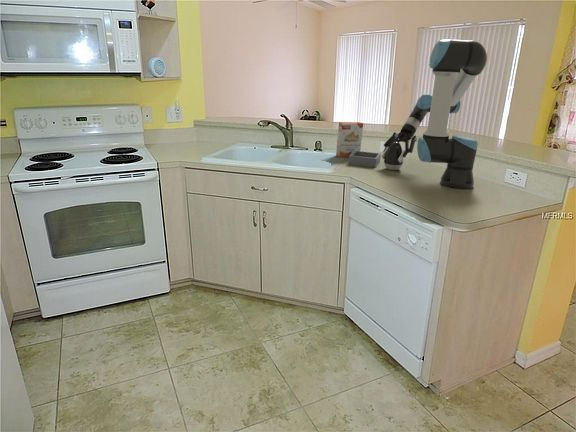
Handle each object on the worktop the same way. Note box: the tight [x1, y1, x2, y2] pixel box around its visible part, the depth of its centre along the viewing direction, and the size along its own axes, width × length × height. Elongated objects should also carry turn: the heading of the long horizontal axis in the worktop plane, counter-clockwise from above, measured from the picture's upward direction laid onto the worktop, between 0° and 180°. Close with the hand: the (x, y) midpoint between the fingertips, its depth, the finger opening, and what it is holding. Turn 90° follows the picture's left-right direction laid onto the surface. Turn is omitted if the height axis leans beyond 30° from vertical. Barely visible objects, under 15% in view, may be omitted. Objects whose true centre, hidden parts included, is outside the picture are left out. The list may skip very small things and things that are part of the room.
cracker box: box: [335, 121, 364, 158], centre depth 241 cm, size 14×6×21 cm, turn 105°
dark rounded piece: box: [383, 142, 404, 171], centre depth 214 cm, size 10×10×15 cm
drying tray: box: [348, 150, 382, 168], centre depth 228 cm, size 16×16×5 cm
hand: (390, 159), depth 213 cm, fingers closed on dark rounded piece, 10 cm apart
